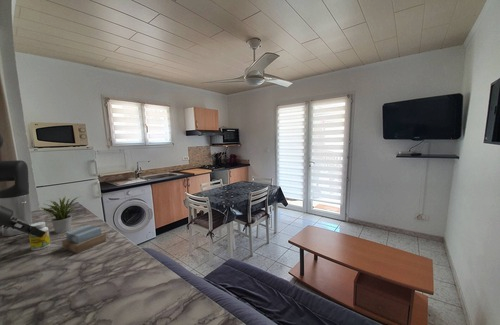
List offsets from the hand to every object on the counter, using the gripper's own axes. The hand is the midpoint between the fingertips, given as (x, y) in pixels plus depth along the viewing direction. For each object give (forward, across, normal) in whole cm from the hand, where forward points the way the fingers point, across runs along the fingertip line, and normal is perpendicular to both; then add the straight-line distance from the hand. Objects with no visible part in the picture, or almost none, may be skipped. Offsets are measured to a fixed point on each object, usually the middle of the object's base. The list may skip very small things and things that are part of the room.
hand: (37, 232), depth 77 cm
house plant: (+14, +11, -5) cm, 18 cm away
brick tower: (+10, -14, -2) cm, 17 cm away
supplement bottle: (+5, 0, +4) cm, 6 cm away
